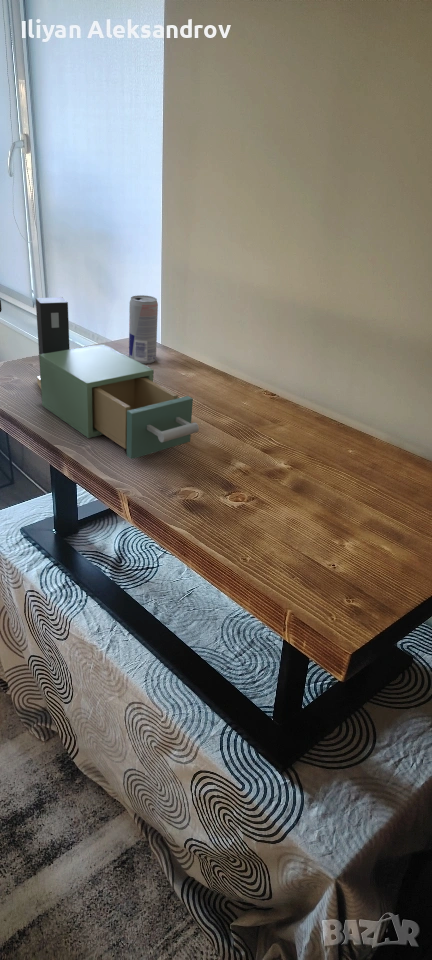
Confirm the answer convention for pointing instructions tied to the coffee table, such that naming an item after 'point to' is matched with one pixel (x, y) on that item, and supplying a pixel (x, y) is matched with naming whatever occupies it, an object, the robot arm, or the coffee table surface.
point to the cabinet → (83, 381)
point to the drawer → (142, 416)
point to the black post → (52, 326)
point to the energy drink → (143, 328)
